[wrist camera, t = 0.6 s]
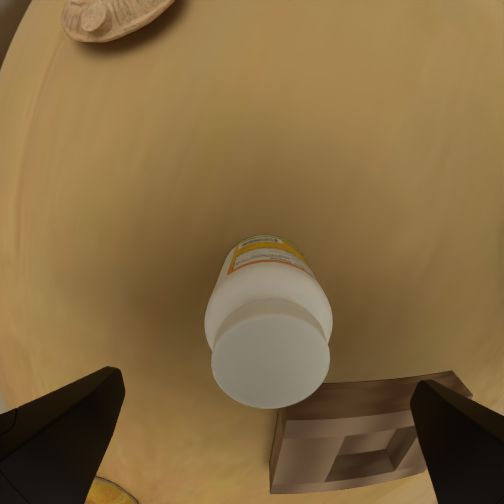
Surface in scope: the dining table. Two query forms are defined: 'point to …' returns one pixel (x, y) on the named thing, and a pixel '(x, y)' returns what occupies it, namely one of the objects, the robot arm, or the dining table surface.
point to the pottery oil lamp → (108, 18)
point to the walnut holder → (350, 436)
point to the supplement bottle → (268, 325)
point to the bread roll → (108, 493)
